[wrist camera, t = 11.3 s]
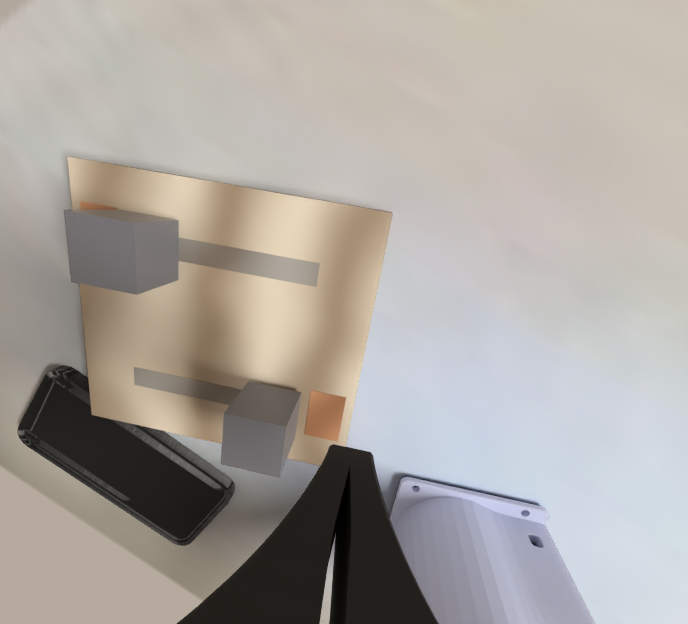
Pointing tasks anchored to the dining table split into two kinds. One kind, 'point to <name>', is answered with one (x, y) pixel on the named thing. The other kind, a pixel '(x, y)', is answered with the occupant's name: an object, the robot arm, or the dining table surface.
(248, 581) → the robot arm
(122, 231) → the switch tab
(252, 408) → the switch tab
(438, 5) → the dining table surface
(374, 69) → the dining table surface
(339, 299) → the switch board
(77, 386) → the phone
